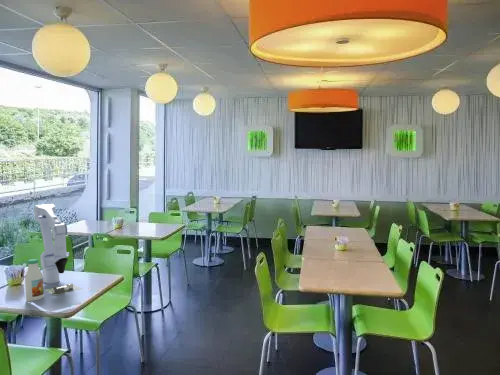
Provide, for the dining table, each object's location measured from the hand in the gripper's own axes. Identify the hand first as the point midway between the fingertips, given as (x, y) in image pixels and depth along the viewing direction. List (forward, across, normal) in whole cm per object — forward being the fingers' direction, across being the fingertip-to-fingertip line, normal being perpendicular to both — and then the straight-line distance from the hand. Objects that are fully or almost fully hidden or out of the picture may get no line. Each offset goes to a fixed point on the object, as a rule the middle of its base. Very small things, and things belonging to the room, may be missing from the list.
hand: (61, 272), depth 225 cm
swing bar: (+8, -5, -3) cm, 10 cm away
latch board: (+9, -2, -2) cm, 10 cm away
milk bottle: (+10, -15, +6) cm, 19 cm away
